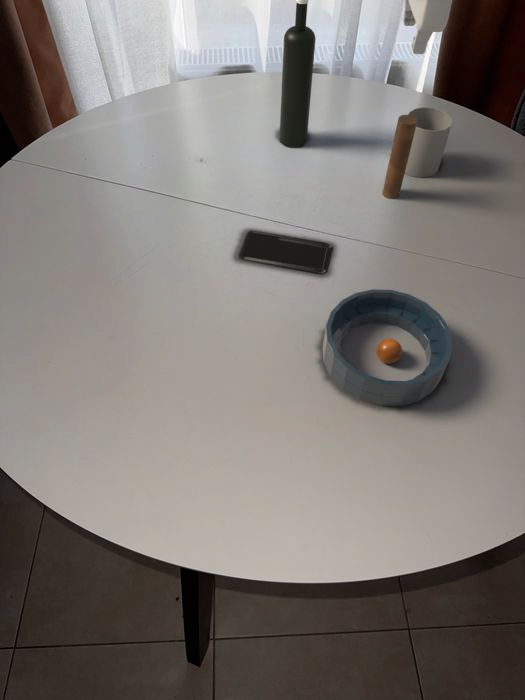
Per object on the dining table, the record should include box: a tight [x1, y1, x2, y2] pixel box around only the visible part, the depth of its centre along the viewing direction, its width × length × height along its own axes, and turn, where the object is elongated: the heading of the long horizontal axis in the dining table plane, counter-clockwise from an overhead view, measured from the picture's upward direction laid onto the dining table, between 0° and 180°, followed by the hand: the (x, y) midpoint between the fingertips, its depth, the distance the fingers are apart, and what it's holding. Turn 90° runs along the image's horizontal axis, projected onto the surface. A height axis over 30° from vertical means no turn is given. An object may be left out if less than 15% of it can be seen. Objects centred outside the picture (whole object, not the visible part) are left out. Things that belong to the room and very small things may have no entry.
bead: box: [376, 338, 403, 365], centre depth 84 cm, size 4×4×4 cm
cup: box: [404, 106, 453, 179], centre depth 113 cm, size 8×8×10 cm
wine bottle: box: [279, 0, 316, 149], centre depth 110 cm, size 6×6×30 cm
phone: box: [237, 229, 333, 275], centre depth 99 cm, size 8×1×15 cm
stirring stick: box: [382, 114, 417, 200], centre depth 104 cm, size 3×3×16 cm
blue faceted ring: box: [322, 288, 454, 407], centre depth 83 cm, size 17×17×6 cm
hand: (412, 37), depth 87 cm, fingers open, 8 cm apart
